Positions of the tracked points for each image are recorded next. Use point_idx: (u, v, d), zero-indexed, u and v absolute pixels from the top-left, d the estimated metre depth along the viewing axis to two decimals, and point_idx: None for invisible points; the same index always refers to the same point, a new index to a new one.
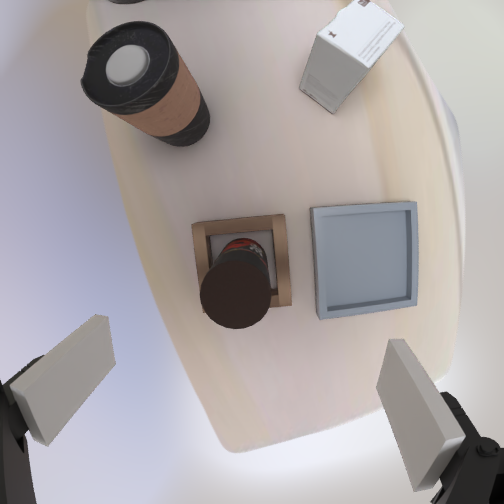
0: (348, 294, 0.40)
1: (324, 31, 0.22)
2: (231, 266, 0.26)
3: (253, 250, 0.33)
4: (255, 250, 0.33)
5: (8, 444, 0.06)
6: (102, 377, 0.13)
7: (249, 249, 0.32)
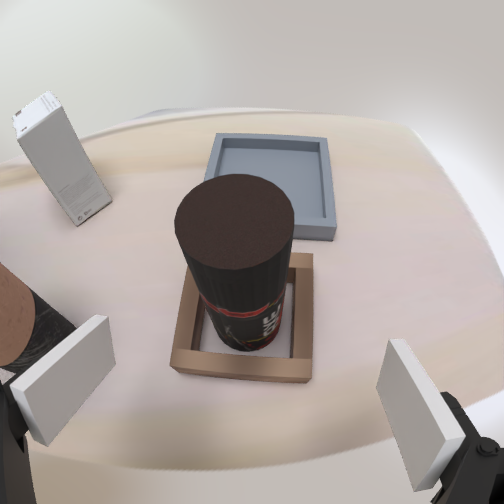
0: (309, 203, 0.34)
1: (18, 134, 0.23)
2: (184, 214, 0.16)
3: None
4: None
5: (8, 444, 0.06)
6: (102, 377, 0.13)
7: None
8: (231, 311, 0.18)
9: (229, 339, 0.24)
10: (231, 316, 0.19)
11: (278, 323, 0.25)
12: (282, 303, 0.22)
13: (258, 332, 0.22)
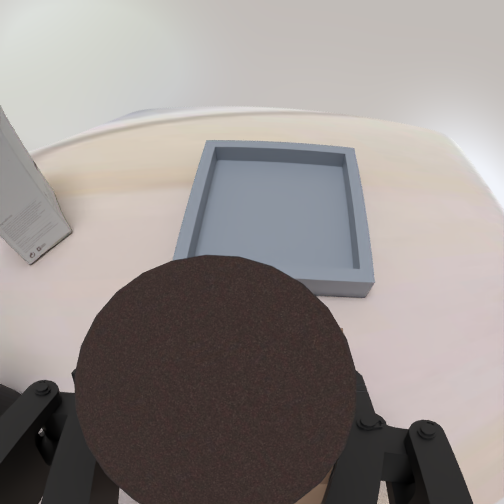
0: (334, 241, 0.24)
1: None
2: (94, 366, 0.06)
3: None
4: None
5: None
6: None
7: None
8: None
9: None
10: None
11: None
12: None
13: None
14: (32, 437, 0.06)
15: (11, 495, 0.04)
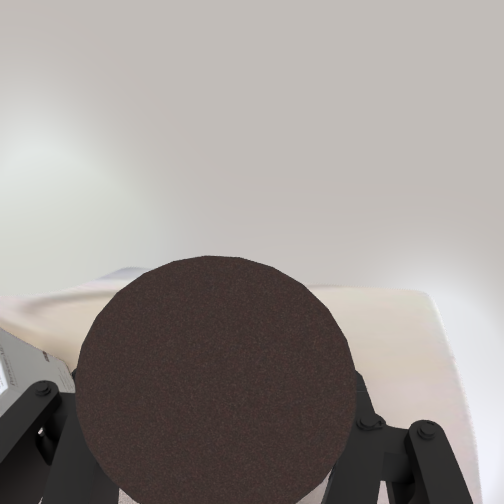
0: None
1: None
2: (94, 367, 0.06)
3: None
4: None
5: None
6: None
7: None
8: None
9: None
10: None
11: None
12: None
13: None
14: (32, 437, 0.06)
15: (11, 495, 0.04)
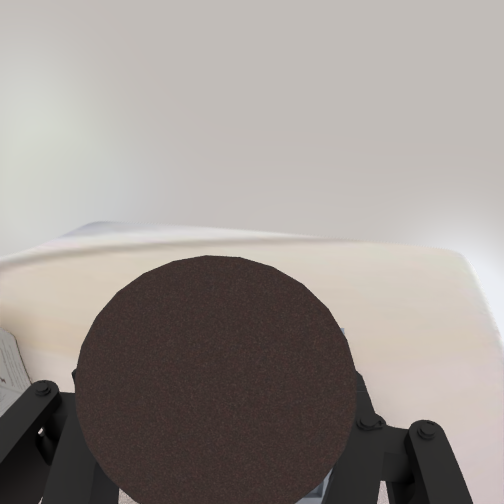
0: None
1: None
2: (94, 367, 0.06)
3: None
4: None
5: None
6: None
7: None
8: None
9: None
10: None
11: None
12: None
13: None
14: (32, 437, 0.06)
15: (11, 495, 0.04)
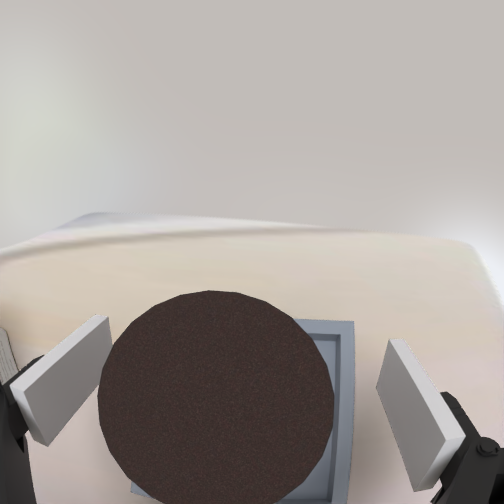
0: None
1: None
2: (114, 386, 0.07)
3: None
4: None
5: (8, 444, 0.06)
6: None
7: None
8: None
9: None
10: None
11: None
12: None
13: None
14: None
15: None
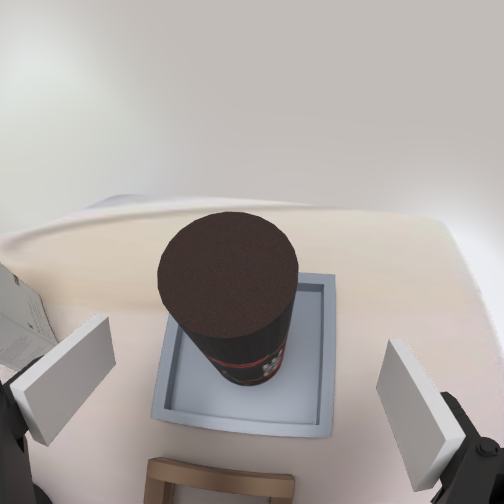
0: (301, 386, 0.24)
1: None
2: (169, 264, 0.13)
3: None
4: None
5: (8, 444, 0.06)
6: (102, 377, 0.13)
7: None
8: (226, 363, 0.16)
9: (227, 377, 0.22)
10: (226, 366, 0.17)
11: (280, 361, 0.22)
12: (284, 346, 0.20)
13: (258, 374, 0.20)
14: None
15: None
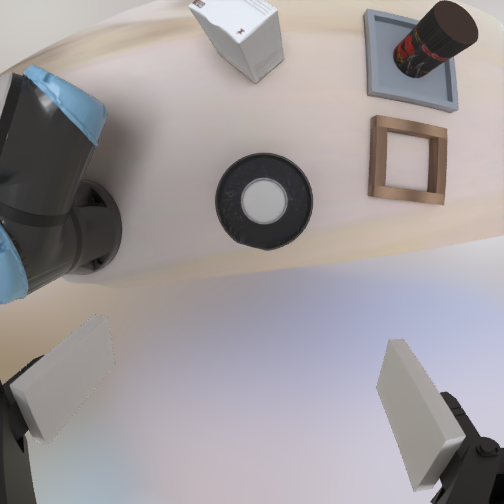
0: (438, 82, 0.36)
1: (237, 37, 0.25)
2: (438, 15, 0.21)
3: (414, 27, 0.28)
4: (413, 28, 0.28)
5: (8, 444, 0.06)
6: (102, 377, 0.13)
7: (414, 28, 0.28)
8: (439, 56, 0.27)
9: (413, 69, 0.34)
10: (435, 58, 0.28)
11: None
12: None
13: (434, 68, 0.31)
14: None
15: None
